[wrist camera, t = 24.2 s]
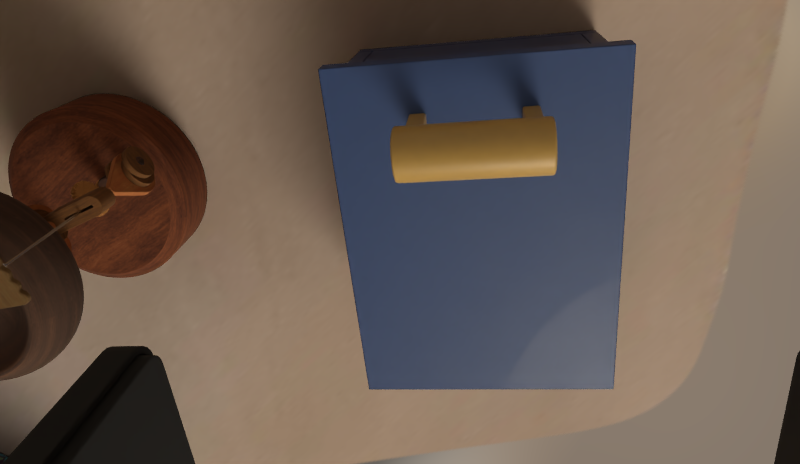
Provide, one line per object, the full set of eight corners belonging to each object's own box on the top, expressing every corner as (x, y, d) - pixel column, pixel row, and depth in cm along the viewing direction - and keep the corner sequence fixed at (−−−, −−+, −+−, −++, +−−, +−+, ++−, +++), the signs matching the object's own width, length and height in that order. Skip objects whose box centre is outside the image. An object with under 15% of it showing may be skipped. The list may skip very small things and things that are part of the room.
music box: (105, 26, 34) (-242, 177, 17) (261, 161, 38) (107, 402, 20) (-20, 198, 40) (-374, 443, 23) (125, 301, 43) (-86, 583, 26)
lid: (322, 64, 25) (284, 102, 21) (631, 39, 24) (671, 74, 19) (371, 379, 33) (352, 462, 28) (610, 378, 31) (635, 467, 26)
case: (359, 49, 33) (327, 81, 26) (595, 29, 31) (628, 58, 24) (390, 300, 40) (371, 378, 33) (586, 295, 38) (610, 378, 31)
